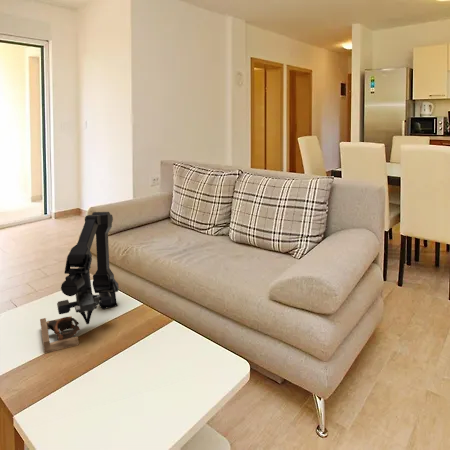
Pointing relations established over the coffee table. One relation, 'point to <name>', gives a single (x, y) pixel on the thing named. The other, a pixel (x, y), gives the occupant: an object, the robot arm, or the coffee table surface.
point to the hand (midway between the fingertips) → (87, 323)
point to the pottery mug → (64, 327)
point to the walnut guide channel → (57, 344)
